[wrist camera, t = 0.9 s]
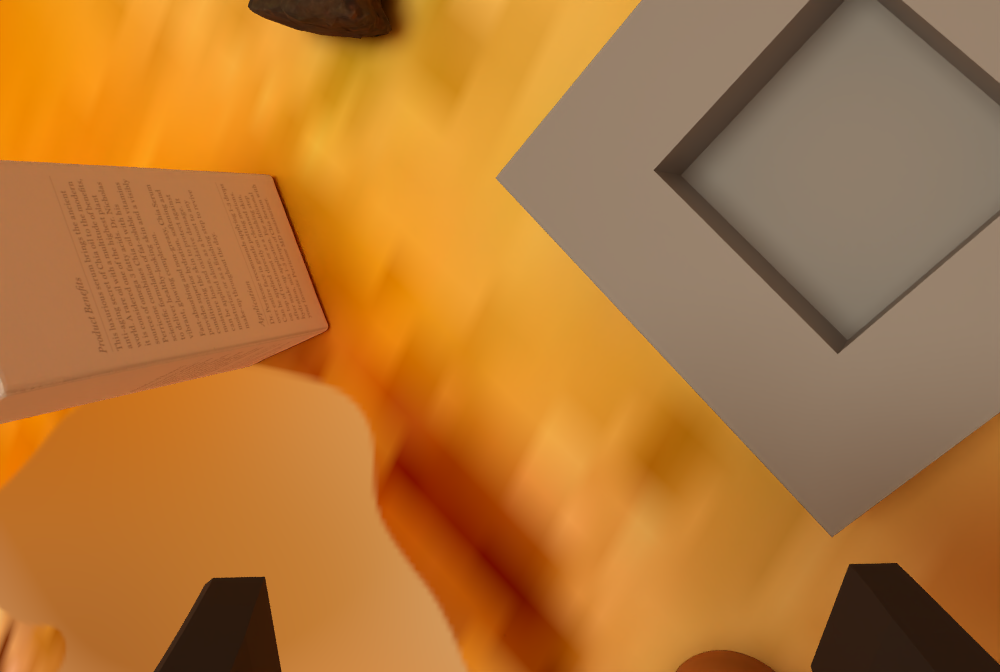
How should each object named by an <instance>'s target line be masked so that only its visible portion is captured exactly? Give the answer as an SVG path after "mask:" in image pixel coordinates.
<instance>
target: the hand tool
mask: <svg viewBox="0 0 1000 672" xmlns="http://www.w3.org/2000/svg"><path fill="white" fill-rule="evenodd" d="M248 7H249V8H250V10H252V12H254V13H256V14H258V15H260V16H262V17H264V18H266V19H269V20H271V21H274V22H277V23H280V24H283V25H285V26H288V27H291V28H294V29H297V30H301V31H306V32H311V33H315V34H319V35H328V36H341V37H353V38H360V39H361V37H373V36H379V35H385V34H388V33H389V32H390V31H391V25H390V23H389V20H388V18H387V16H386V14H385V13H384V11H383V9H382V7H381V0H250V1H249V4H248Z"/></svg>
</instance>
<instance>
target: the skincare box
mask: <svg viewBox="0 0 1000 672" xmlns="http://www.w3.org/2000/svg"><path fill="white" fill-rule="evenodd" d="M327 329H328V324H327V321H326V319H325V316H324V314H323V311H322V309H321V306H320V303H319V301H318V298H317V296H316V293H315V290H314V288H313V285H312V282H311V280H310V277H309V274H308V271H307V269H306V266H305V263H304V261H303V258H302V256H301V253H300V250H299V248H298V245H297V242H296V240H295V237H294V234H293V232H292V229H291V226H290V224H289V221H288V219H287V216H286V213H285V210H284V208H283V205H282V202H281V200H280V197H279V195H278V192H277V189H276V187H275V184H274V181H273V178H272V177H271V176H270V175H264V174H247V173H228V172H210V171H190V170H171V169H156V168H138V167H118V166H99V165H79V164H60V163H44V162H23V161H4V160H0V424H1V423H6V422H10V421H14V420H19V419H23V418H28V417H32V416H36V415H40V414H44V413H49V412H53V411H57V410H62V409H65V408H70V407H74V406H79V405H83V404H87V403H91V402H95V401H100V400H105V399H109V398H113V397H118V396H122V395H126V394H130V393H135V392H139V391H143V390H148V389H153V388H157V387H161V386H166V385H170V384H174V383H178V382H183V381H187V380H191V379H196V378H200V377H205V376H209V375H213V374H217V373H222V372H226V371H231V370H236V369H240V368H244V367H248V366H251V365H253V364H255V363H258V362H260V361H262V360H263V359H266V358H268V357H270V356H272V355H275V354H277V353H279V352H281V351H283V350H286V349H288V348H290V347H292V346H295V345H297V344H299V343H301V342H303V341H305V340H308V339H310V338H312V337H314V336H316V335H318V334H321V333H323V332H324V331H326V330H327Z"/></svg>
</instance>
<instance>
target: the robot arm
mask: <svg viewBox="0 0 1000 672" xmlns="http://www.w3.org/2000/svg"><path fill="white" fill-rule="evenodd" d="M811 669H812V672H1000V665H999V664H998V663H997V662H996V661H995V660H994V659H993V658H992V657H991V656H990V655H989V654H988V653H987V652H986V651H985V650H984V649H983V648H982V647H981V646H980V645H979V644H978V643H977V642H976V641H975V640H974V639H973V638H972V637H971V636H970V635H969V634H968V633H967V632H966V631H965V630H964V629H963V628H962V627H961V626H960V625H959V624H958V623H957V622H956V621H955V620H954V619H953V618H952V617H951V616H950V615H949V614H948V613H947V612H946V611H945V610H944V609H943V608H942V607H941V606H940V605H939V604H938V603H937V602H936V601H935V600H934V599H933V598H932V597H931V596H930V595H929V594H928V593H927V592H926V591H925V590H924V589H923V588H922V587H921V586H920V585H919V584H918V583H917V582H916V581H915V580H914V579H913V578H912V577H911V576H910V575H909V574H907V573H906V572H905V571H904V570H903V569H902V568H901V567H900V566H899V565H898V564H897V563H881V564H849V567H848V569H847V572H846V575H845V577H844V580H843V583H842V585H841V588H840V591H839V593H838V596H837V598H836V601H835V604H834V606H833V609H832V612H831V614H830V617H829V619H828V622H827V625H826V627H825V630H824V633H823V635H822V638H821V640H820V643H819V646H818V648H817V651H816V654H815V656H814V659H813V661H812V664H811ZM154 672H281V667H280V661H279V656H278V650H277V644H276V638H275V632H274V626H273V621H272V615H271V609H270V603H269V598H268V592H267V587H266V580H265V577H236V578H213V579H211V580H210V581H209V582H208V583H207V584H205V586H204V587H203V589H202V591H201V593H200V595H199V597H198V598H197V600H196V602H195V604H194V605H193V607H192V609H191V611H190V612H189V614H188V616H187V618H186V619H185V621H184V623H183V625H182V626H181V628H180V630H179V632H178V633H177V635H176V636H175V638H174V640H173V641H172V643H171V645H170V647H169V648H168V650H167V651H166V653H165V655H164V656H163V658H162V660H161V661H160V663H159V664H158V666H157V667H156V669H155V671H154Z"/></svg>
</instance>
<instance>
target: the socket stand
mask: <svg viewBox="0 0 1000 672" xmlns="http://www.w3.org/2000/svg"><path fill="white" fill-rule="evenodd" d="M496 179H497V180H498V181H499V182H500V183H501V184H502V185H503V186H504V187H505V189H506V190H507V191H508V192H509V193H510V194H511V195H512V196H513V197H514V198H515V199H516V200H517V201H518V202H519V203H520V205H521V206H522V207H523V208H524V209H525V210H526V211H527V212H528V213H529V214H530V215H531V216H532V217H533V218H534V219H535V221H536V222H537V223H538V224H539V225H540V226H541V227H542V228H543V229H544V230H545V231H546V232H547V233H548V234H549V236H550V237H551V238H552V239H553V240H554V241H555V242H556V243H557V244H558V245H559V246H560V247H561V248H562V249H563V250H564V252H565V253H566V254H567V255H568V256H569V257H570V258H571V259H572V260H573V261H574V262H575V263H576V264H577V265H578V266H579V268H580V269H581V270H582V271H583V272H584V273H585V274H586V275H587V276H588V277H589V278H590V279H591V280H592V281H593V282H594V284H595V285H596V286H597V287H598V288H599V289H600V290H601V291H602V292H603V293H604V294H605V295H606V296H607V297H608V299H609V300H610V301H611V302H612V303H613V304H614V305H615V306H616V307H617V308H618V309H619V310H620V311H621V312H622V313H623V315H624V316H625V317H626V318H627V319H628V320H629V321H630V322H631V323H632V324H633V325H634V326H635V327H636V328H637V329H638V331H639V332H640V333H641V334H642V335H643V336H644V337H645V338H646V339H647V340H648V341H649V342H650V343H651V344H652V346H653V347H654V348H655V349H656V350H657V351H658V352H659V353H660V354H661V355H662V356H663V357H664V358H665V359H666V360H667V362H668V363H669V364H670V365H671V366H672V367H673V368H674V369H675V370H676V371H677V372H678V373H679V374H680V375H681V376H682V378H683V379H684V380H685V381H686V382H687V383H688V384H689V385H690V386H691V387H692V388H693V389H694V390H695V391H696V393H697V394H698V395H699V396H700V397H701V398H702V399H703V400H704V401H705V402H706V403H707V404H708V405H709V406H710V407H711V409H712V410H713V411H714V412H715V413H716V414H717V415H718V416H719V417H720V418H721V419H722V420H723V421H724V422H725V423H726V425H727V426H728V427H729V428H730V429H731V430H732V431H733V432H734V433H735V434H736V435H737V436H738V437H739V438H740V439H741V441H742V442H743V443H744V444H745V445H746V446H747V447H748V448H749V449H750V450H751V451H752V452H753V453H754V454H755V456H756V457H757V458H758V459H759V460H760V461H761V462H762V463H763V464H764V465H765V466H766V467H767V468H768V469H769V470H770V472H771V473H772V474H773V475H774V476H775V477H776V478H777V479H778V480H779V481H780V482H781V483H782V484H783V485H784V486H785V488H786V489H787V490H788V491H789V492H790V493H791V494H792V495H793V496H794V497H795V498H796V499H797V500H798V501H799V503H800V504H801V505H802V506H803V507H804V508H805V509H806V510H807V511H808V512H809V513H810V514H811V515H812V516H813V517H814V519H815V520H816V521H817V522H818V523H819V524H820V525H821V526H822V527H823V528H824V529H825V530H826V531H827V532H828V533H829V535H830V536H831V537H833V536H834V535H836V534H837V533H838V532H840V531H841V530H842V529H844V528H845V527H846V526H848V525H849V524H850V523H852V522H853V521H854V520H856V519H857V518H858V517H860V516H861V515H862V514H864V513H865V512H866V511H868V510H869V509H871V508H872V507H873V506H875V505H876V504H877V503H879V502H880V501H881V500H883V499H884V498H885V497H887V496H888V495H889V494H891V493H892V492H893V491H895V490H896V489H897V488H899V487H900V486H901V485H903V484H904V483H905V482H907V481H908V480H909V479H911V478H912V477H914V476H915V475H916V474H918V473H919V472H920V471H922V470H923V469H924V468H926V467H927V466H928V465H930V464H931V463H932V462H934V461H935V460H936V459H938V458H939V457H940V456H942V455H943V454H944V453H946V452H947V451H948V450H950V449H951V448H952V447H954V446H955V445H956V444H958V443H959V442H961V441H962V440H963V439H965V438H966V437H967V436H969V435H970V434H971V433H973V432H974V431H975V430H977V429H978V428H979V427H981V426H982V425H983V424H985V423H986V422H987V421H989V420H990V419H991V418H993V417H994V416H995V415H997V414H998V413H999V412H1000V0H642V1H641V2H640V3H639V4H638V5H637V7H636V8H635V9H634V10H633V12H632V13H631V14H630V15H629V16H628V18H627V19H626V20H625V21H624V22H623V24H622V25H621V26H620V27H619V29H618V30H617V31H616V32H615V33H614V35H613V36H612V37H611V38H610V39H609V41H608V42H607V43H606V44H605V46H604V47H603V48H602V49H601V50H600V52H599V53H598V54H597V55H596V57H595V58H594V59H593V60H592V61H591V63H590V64H589V65H588V66H587V67H586V69H585V70H584V71H583V72H582V74H581V75H580V76H579V77H578V78H577V80H576V81H575V82H574V83H573V84H572V86H571V87H570V88H569V89H568V91H567V92H566V93H565V94H564V95H563V97H562V98H561V99H560V100H559V101H558V103H557V104H556V105H555V106H554V108H553V109H552V110H551V111H550V112H549V114H548V115H547V116H546V117H545V118H544V120H543V121H542V122H541V123H540V125H539V126H538V127H537V128H536V129H535V131H534V132H533V133H532V134H531V135H530V137H529V138H528V139H527V140H526V142H525V143H524V144H523V145H522V146H521V148H520V149H519V150H518V151H517V152H516V154H515V155H514V156H513V157H512V159H511V160H510V161H509V162H508V163H507V165H506V166H505V167H504V168H503V170H502V171H501V172H500V173H499V174H498V176H497V177H496Z"/></svg>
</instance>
